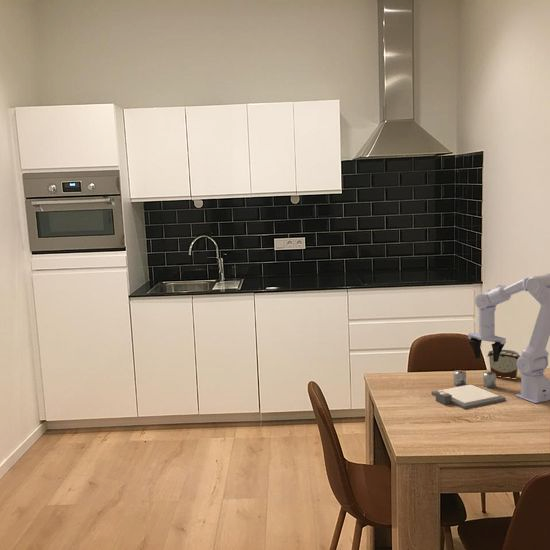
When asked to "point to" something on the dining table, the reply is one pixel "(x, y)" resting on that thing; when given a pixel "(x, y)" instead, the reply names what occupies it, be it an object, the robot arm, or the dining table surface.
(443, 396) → the kitchen scale
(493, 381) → the steel spacer
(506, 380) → the dining table surface
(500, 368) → the food container
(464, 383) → the steel spacer
